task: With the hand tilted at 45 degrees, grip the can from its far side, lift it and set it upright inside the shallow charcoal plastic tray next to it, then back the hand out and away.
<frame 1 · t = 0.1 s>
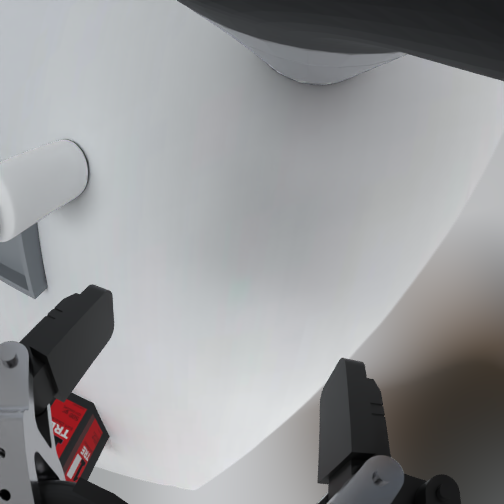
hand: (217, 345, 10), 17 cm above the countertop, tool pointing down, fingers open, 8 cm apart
cleaning product box: (86, 413, 56), on the countertop
can: (69, 167, 27), on the countertop
tray: (9, 231, 33), on the countertop
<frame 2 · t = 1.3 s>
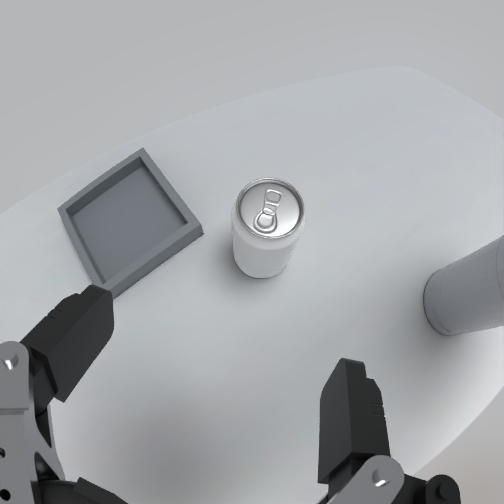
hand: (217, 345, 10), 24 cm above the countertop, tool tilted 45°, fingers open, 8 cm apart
can: (261, 253, 37), on the countertop
tray: (128, 224, 37), on the countertop
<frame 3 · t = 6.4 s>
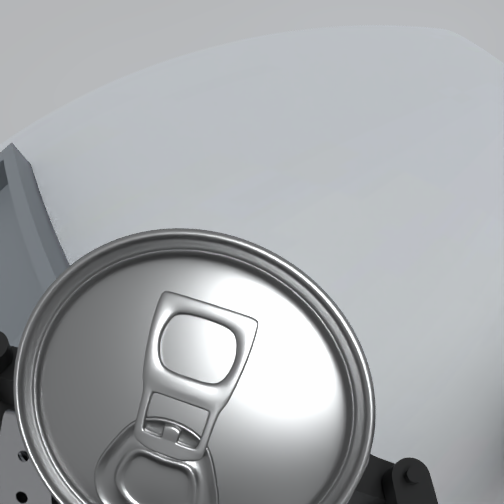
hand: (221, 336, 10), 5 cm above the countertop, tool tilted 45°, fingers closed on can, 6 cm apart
can: (221, 373, 15), on the countertop, touching gripper
when the fingers open (7 cm above the countertop, at t = 12.3 s): can drops 1 cm, resting on tray.
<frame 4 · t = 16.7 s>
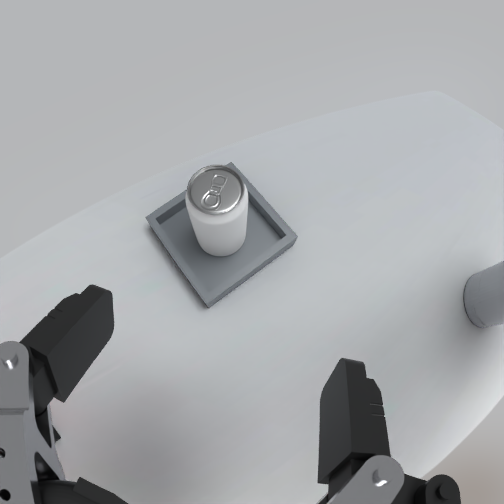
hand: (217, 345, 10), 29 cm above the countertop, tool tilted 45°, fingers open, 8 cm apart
can: (221, 234, 41), point 1 cm above the countertop, touching tray
tray: (220, 235, 42), on the countertop
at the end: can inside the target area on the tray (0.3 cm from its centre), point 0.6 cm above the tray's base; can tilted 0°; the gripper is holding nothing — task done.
